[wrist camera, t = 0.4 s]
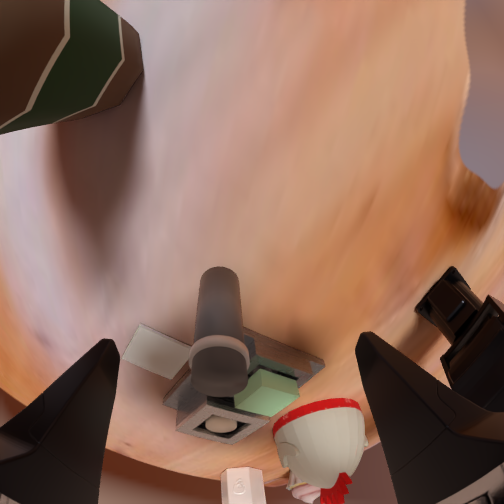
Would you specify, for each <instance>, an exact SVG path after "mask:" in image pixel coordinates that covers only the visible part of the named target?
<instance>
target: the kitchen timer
mask: <svg viewBox="0 0 504 504" xmlns="http://www.w3.org/2000/svg"><path fill="white" fill-rule="evenodd" d="M273 435H274V440H275V443H276V445H277V450H278V455H279V459H280V462H281V464H282V467H283V468H285V467H289V469H290V470H291V471H292V472H293V473H294V474H295V475H296V476H297V477H298V478H300V479H301V480H303V481H304V482H306V483H308V484H310V485H313V486H315V487H319V488H321V490H320V503H321V504H323V503H325V504H343V503H344V494H348V493H349V492H348V489H347V487H346V485H347V484H351V483H352V481H351V479H350V476H351V475H352V474H353V472H354V471H355V469H356V468H357V466H358V464H359V461H360V459H361V456H362V453H363V449H364V447H367V446H368V440H367V437H366V436H365V423H364V417H363V414H362V411H361V409H360V406H359V404H358V402H356V401H354V400H352V399H345V398H335V399H327V400H322V401H316V402H313V403H310V404H307V405H304V406H301V407H299V408H297V409H294V410H292V411H290V412H288V413H287V414H285V415H284V416H282V417H280V418H279V419H278V421H277V422H276V423H275V424H274V427H273ZM345 484H346V485H345Z"/></svg>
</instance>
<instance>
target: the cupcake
mask: <svg viewBox="0 0 504 504" xmlns="http://www.w3.org/2000/svg"><path fill="white" fill-rule="evenodd" d="M286 489H288V490H292V495H293V496H294V497H295V498H298V499H301V500H303V501H304V502H306V503H311V504H313V501H314V500H315V499H316V498H317V497H319V496H320V490H321V488H319V487H315V486H313V485H310V484H308V483H306V482H304V481H303V480H301V479H300V478H298V477H297V476H296V475H295V474H294V473H293V472H292V471H291V470H290V475H289V482H288V485H287V487H286Z"/></svg>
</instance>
